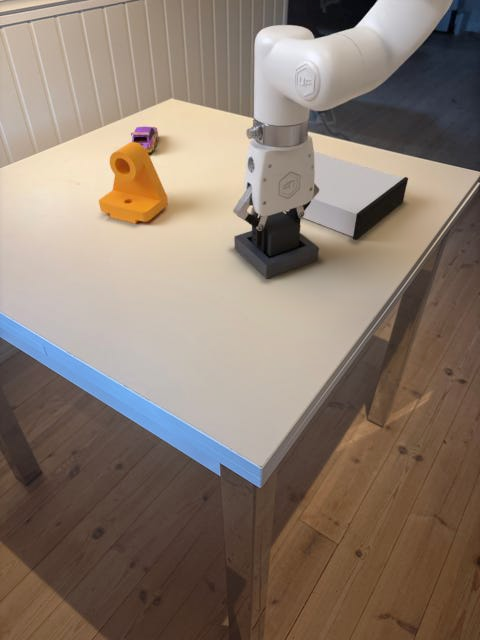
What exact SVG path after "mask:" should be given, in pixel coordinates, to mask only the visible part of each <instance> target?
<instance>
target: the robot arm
mask: <svg viewBox="0 0 480 640" xmlns="http://www.w3.org/2000/svg"><path fill="white" fill-rule="evenodd" d="M453 2H454V0H376V2H375V3H374V5H373V6H372V7H370V9H369V10H368V12H367V13H366V14H365V15H364V16H363V18H362V19H361V20H360V21H359V22H358V23H357V24H356V25H355V26H354V27H352V28H349V29H345V30H342V31H338V32H335V33H331V34H329V35H325V36H321V37H317V38H315V36H314V34H313V32H312V31H311V30H310V29H309V28H306V27H304V26H299V25H293V24H278V25H277V24H276V25H271V26H267V27H264V28H262V29H261V30H260V31H259V32H258V33H257V34H256V36H255V40H254V47H253V49H254V51H253V52H254V53H253V54H254V55H253V56H254V58H253V59H254V66H253V67H254V68H253V69H254V70H253V73H254V74H253V76H254V77H253V120H252V126H251V127H249V128H247V129H246V132H245V133H246V138H247V139H248V140H250V141H249V144H248V149H247V154H246V161H245V169H244V181H243V183H244V184H243V194H242V196H241V197H240V198H239V200H238V202H237V203H236V205H235V206H234V207H233V210H232V212H233V214H234V215H236V216H237V217H238V218H240V219H241V220H243V221H245V222H247V223H248V224H249V225H251V231H252V243H253V244H254V245H255V246H256V247H257V248H259V249H260V250H261V251H262V252H264V251H266V243H267V229H266V228H264V226H265V223H266V220H267V217H268V216H269V215H273V214H276V213H279V212H285V214H286V215H287V216H289V217H290V218H291V219H293V220H294V221H295V222H297V223H298V224H300V225H301V219H302V218H303V216H304V214H305V212H304V211H305V210H306V208H307V207H308V206H309V204H310V203H311V200H312V199H313V198H314V197H315V196H316V195H317V194H318V192H319V188H318V187H317V186H316V184H315V183H314V178H315V161H314V152H315V150H314V143H313V137H312V136H311V135H308V134H309V123H310V111H315V112H324V111H328V110H331V109H334V108H336V107H338V106H340V105H343V104H345V103H347V102H349V101H350V100H353V99H355V98H358V97H360V96H363V95H365V94H368V93H369V92H371V91H373V90H376V88H378V87H379V86H380V85H382V84H383V83H385V82H386V81H387V80H388V79H389V78H390V77H391V76H392V75H393V74H394V73H395V72H396V71H398V69H399V68H400V67H401V66H402V65H403V64H404V63H405V62H406V61H407V60H408V59H409V58H410V57H411V56H412V55H413V54H414V53H415V52H416V51H418V49H419V48H420V47H421V46H422V45H423V43H424V42H425V41H426V40H427V39H428V38H429V36H430V35H431V34H432V33H433V31H434V30H435V28H437V26H438V24H439V23H440V21H441V20H442V19H443V17H444V16H445V15H446V13H447V12H448V11H449V9H450V7H451V5H452V3H453ZM250 206H252V207H251V209H250V212H249V211H248V209H249V208H250ZM286 210H289V211H286ZM257 218H258V219H257Z"/></svg>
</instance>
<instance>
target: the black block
mask: <svg viewBox="0 0 480 640" xmlns="http://www.w3.org/2000/svg"><path fill="white" fill-rule="evenodd" d="M258 218H259V217H258ZM258 218H257V219H258ZM264 228H266V229H267V243H266V251H265V252H266V253H267V254H268V255H269V256H274V255H276V254H279V253H282V252H285V251H288V250H291V249H294V248H297V247H299V239H300V233H301V223H300V224H298V223H297V222H295V221H294V220H293V219H291V218H290V217H289V216H287V215H286V212H285V211H283V212H279V213H276V214H273V215H269V216H268V217H267V220H266V223H265V226H264Z"/></svg>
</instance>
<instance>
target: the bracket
mask: <svg viewBox="0 0 480 640" xmlns="http://www.w3.org/2000/svg"><path fill="white" fill-rule="evenodd" d="M149 154H150V153H148V152H147V150H146V149H145V148H144V147H143V146H142V145H141V144H139V143H136V142H132V141H131V142H129V143H127V144H125V145H123V146H122V147H120V148H119V149H117V150H116V151H114V152H113V153H111V155H110V156H109V166H110V169H111V171H112V173H113V174H114V179H113V186H112V190H110V191H109V192H108V193H107V194H105V195H104V196H102V197H101V198H99V199H98V204H99V205H98V206H99V209H100V211H101V212H102V213H106V214H109V217H110V218H111V219H116V220H119V221H123V222H126V223H127V222H128V223H131V224H137V223H138V222H143V223H145V222H150V221H151V220H152V219H153V218H154V217H155V216H157V214H159V213H160V212H161V211H163V210H164V209H165V208H166V207H168V205H169V202H168V195H167V193H166V191H165V189H164V186H163V184H162V181H161V179H160V177H159V175H158V172H157V170H156V168H155V165H154V163H153V161H152V159H151V156H150V155H149Z"/></svg>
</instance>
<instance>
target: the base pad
mask: <svg viewBox="0 0 480 640" xmlns="http://www.w3.org/2000/svg"><path fill="white" fill-rule="evenodd" d="M233 237H234V238H233V239H234V241H233V243H234V250H235V251H236V252H237V253H238V254H239V255H240V256H241V257H242V258H244V259H245V260H246V261H247V262H248V263H249V264H250V265H251V266H252V267H253V268H254V269H255V270H256V271H257V272H259V274H260V275H262V277H263V278H265V279H266V280H267V279H270V278H272V277H276V276H278V275H282V274H284V273H286V272H289V271H292V270H294V269H297V268H300V267H303V266H305V265H308V264H312V263H313V262H317V261H318V260H319V251H320V247H319V246H318V245H317V244H315V243H314V242H313V241H312V240H310V239H309V238H308V237H306V236H305V235H304V234H302V233H301V232H300V239H299V247H297V248H294V249H291V250H288V251H285V252H282V253H279V254H276V255H274V256H269V255H268V254H267V253H266V252H265V251H264V252H262V251H261V250H260V249H259V248H257V247H256V246H255V245H254V244H253V243H252V230H250V231H246V232H243V233H240V234H237V235H234V236H233Z"/></svg>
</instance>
